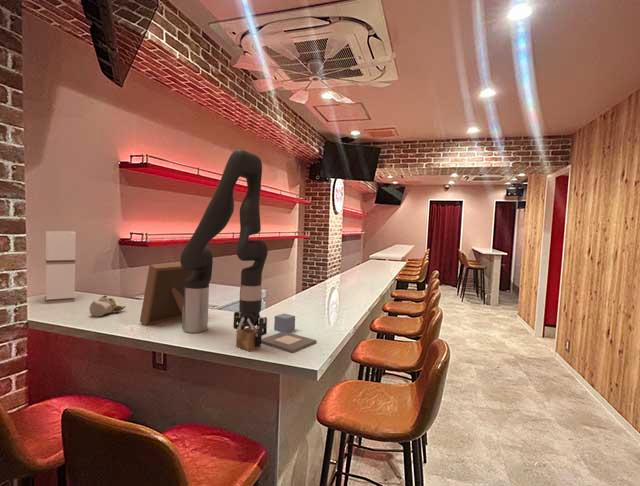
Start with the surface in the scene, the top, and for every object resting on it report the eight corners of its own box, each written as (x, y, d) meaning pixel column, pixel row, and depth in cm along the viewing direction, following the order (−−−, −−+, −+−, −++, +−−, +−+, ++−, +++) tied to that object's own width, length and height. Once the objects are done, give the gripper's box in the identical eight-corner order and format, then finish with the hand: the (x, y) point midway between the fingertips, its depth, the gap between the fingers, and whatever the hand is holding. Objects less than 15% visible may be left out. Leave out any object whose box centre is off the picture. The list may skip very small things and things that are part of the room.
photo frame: (139, 324, 142) (141, 263, 141) (184, 314, 161) (186, 260, 160) (162, 330, 134) (163, 267, 133) (206, 319, 153) (208, 263, 152)
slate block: (274, 330, 142) (274, 316, 142) (283, 327, 147) (284, 313, 147) (285, 333, 139) (285, 318, 138) (294, 330, 144) (295, 316, 143)
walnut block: (235, 347, 120) (236, 330, 120) (248, 343, 125) (249, 327, 125) (248, 352, 117) (248, 334, 116) (260, 347, 121) (261, 330, 121)
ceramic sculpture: (82, 296, 148) (106, 292, 162) (80, 317, 147) (105, 311, 162) (105, 298, 147) (127, 294, 162) (104, 319, 146) (126, 312, 161)
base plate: (258, 342, 126) (258, 339, 126) (283, 333, 138) (283, 331, 138) (292, 353, 117) (292, 349, 117) (316, 342, 129) (316, 339, 129)
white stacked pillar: (72, 297, 183) (73, 231, 181) (74, 301, 175) (75, 232, 173) (45, 299, 175) (46, 231, 174) (45, 304, 167) (46, 231, 166)
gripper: (273, 299, 119) (271, 345, 120) (244, 293, 127) (242, 337, 128) (257, 302, 113) (256, 351, 114) (228, 296, 121) (226, 342, 122)
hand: (249, 344), depth 121 cm, fingers open, 7 cm apart
